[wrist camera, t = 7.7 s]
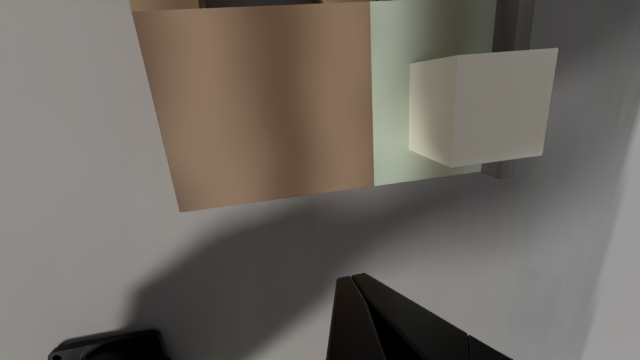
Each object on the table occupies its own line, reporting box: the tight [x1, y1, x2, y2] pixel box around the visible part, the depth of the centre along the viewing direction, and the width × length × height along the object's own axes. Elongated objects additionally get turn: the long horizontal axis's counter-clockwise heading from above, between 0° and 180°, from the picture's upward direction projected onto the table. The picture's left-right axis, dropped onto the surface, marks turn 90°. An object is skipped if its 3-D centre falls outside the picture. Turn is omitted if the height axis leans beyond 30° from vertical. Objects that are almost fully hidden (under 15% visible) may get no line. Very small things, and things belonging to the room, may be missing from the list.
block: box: [409, 48, 559, 168], centre depth 14 cm, size 4×4×4 cm
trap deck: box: [129, 0, 535, 212], centre depth 15 cm, size 18×16×4 cm
